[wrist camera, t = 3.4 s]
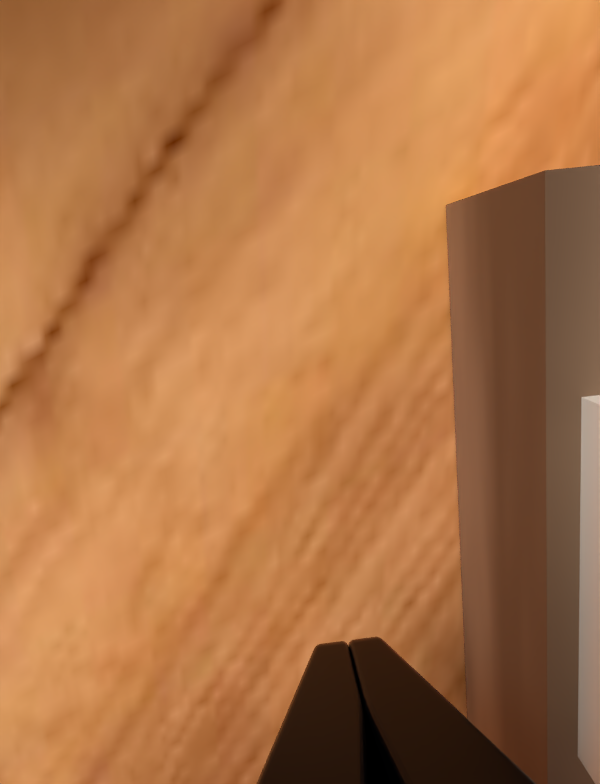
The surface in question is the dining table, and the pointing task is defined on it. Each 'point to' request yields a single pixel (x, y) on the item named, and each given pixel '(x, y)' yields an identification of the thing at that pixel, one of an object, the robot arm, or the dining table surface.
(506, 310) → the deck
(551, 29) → the dining table surface
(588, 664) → the light grey block
